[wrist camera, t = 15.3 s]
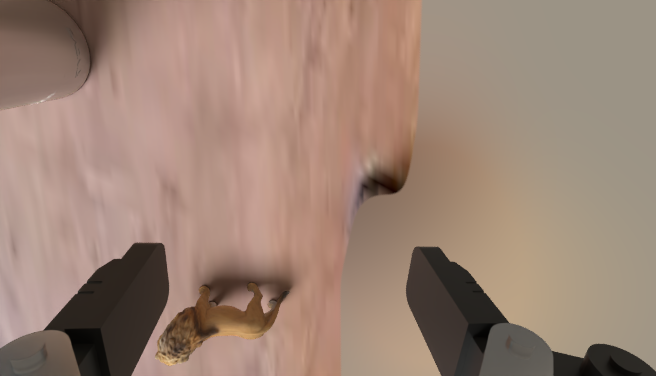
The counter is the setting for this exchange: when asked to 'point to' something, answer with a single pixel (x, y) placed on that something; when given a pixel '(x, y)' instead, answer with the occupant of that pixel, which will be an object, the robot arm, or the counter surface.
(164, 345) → the lion figurine
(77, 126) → the counter surface
